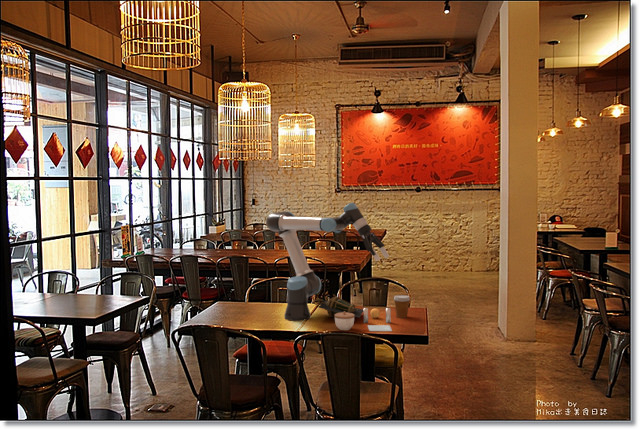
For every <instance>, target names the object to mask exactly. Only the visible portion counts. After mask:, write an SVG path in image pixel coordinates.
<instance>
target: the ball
mask: <svg viewBox="0 0 640 430" xmlns="http://www.w3.org/2000/svg"><path fill="white" fill-rule="evenodd" d="M369 313H370V317H371V318H373V319H378V318H379V317H380V314H381V313H380V310H379V309H378V308H372V309H371V310H370V312H369Z"/></svg>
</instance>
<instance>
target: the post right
mask: <svg viewBox="0 0 640 430" xmlns="http://www.w3.org/2000/svg"><path fill="white" fill-rule="evenodd" d="M391 311H392V309H391V307H386V308H385V323H386V324H391V323H392V321H391V319H392V318H391V317H392V316H391V314H392V313H391Z"/></svg>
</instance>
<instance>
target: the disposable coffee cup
mask: <svg viewBox="0 0 640 430" xmlns="http://www.w3.org/2000/svg"><path fill="white" fill-rule="evenodd" d="M410 300H411V297H410V296H409V295H404V294H396V295H394V298H393V301H394V307H395V316H396V318H398V317H399V319H404V318H407V317H408V312H409V304H410Z"/></svg>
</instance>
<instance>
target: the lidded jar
mask: <svg viewBox="0 0 640 430" xmlns="http://www.w3.org/2000/svg"><path fill="white" fill-rule="evenodd" d="M334 322H335V326H336V327H337V328H338V330H339V331H349V330H351V329H352V327H353V325H354V322H355V317H354V314H352V313H346V312H345V311H344V312H342V313H336V314H335V317H334Z"/></svg>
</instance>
